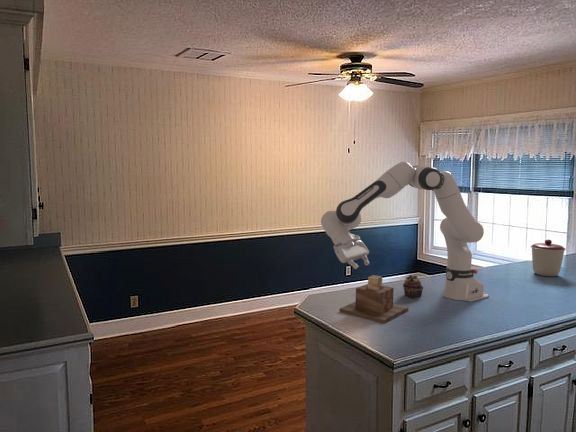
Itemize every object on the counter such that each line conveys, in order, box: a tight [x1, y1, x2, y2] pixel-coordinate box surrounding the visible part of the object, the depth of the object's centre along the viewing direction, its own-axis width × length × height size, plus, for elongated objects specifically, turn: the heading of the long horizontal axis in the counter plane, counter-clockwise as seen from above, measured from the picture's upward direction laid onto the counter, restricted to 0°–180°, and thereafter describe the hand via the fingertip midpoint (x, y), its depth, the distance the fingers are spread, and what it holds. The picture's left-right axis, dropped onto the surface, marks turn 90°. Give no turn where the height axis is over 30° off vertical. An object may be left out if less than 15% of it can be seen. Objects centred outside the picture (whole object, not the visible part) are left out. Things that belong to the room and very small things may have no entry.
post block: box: [339, 283, 409, 324], centre depth 204 cm, size 22×22×10 cm
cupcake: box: [402, 274, 424, 299], centre depth 228 cm, size 10×10×10 cm
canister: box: [530, 239, 566, 277], centre depth 273 cm, size 18×18×21 cm
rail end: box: [367, 274, 383, 291], centre depth 203 cm, size 4×4×11 cm
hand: (362, 266), depth 206 cm, fingers open, 8 cm apart
